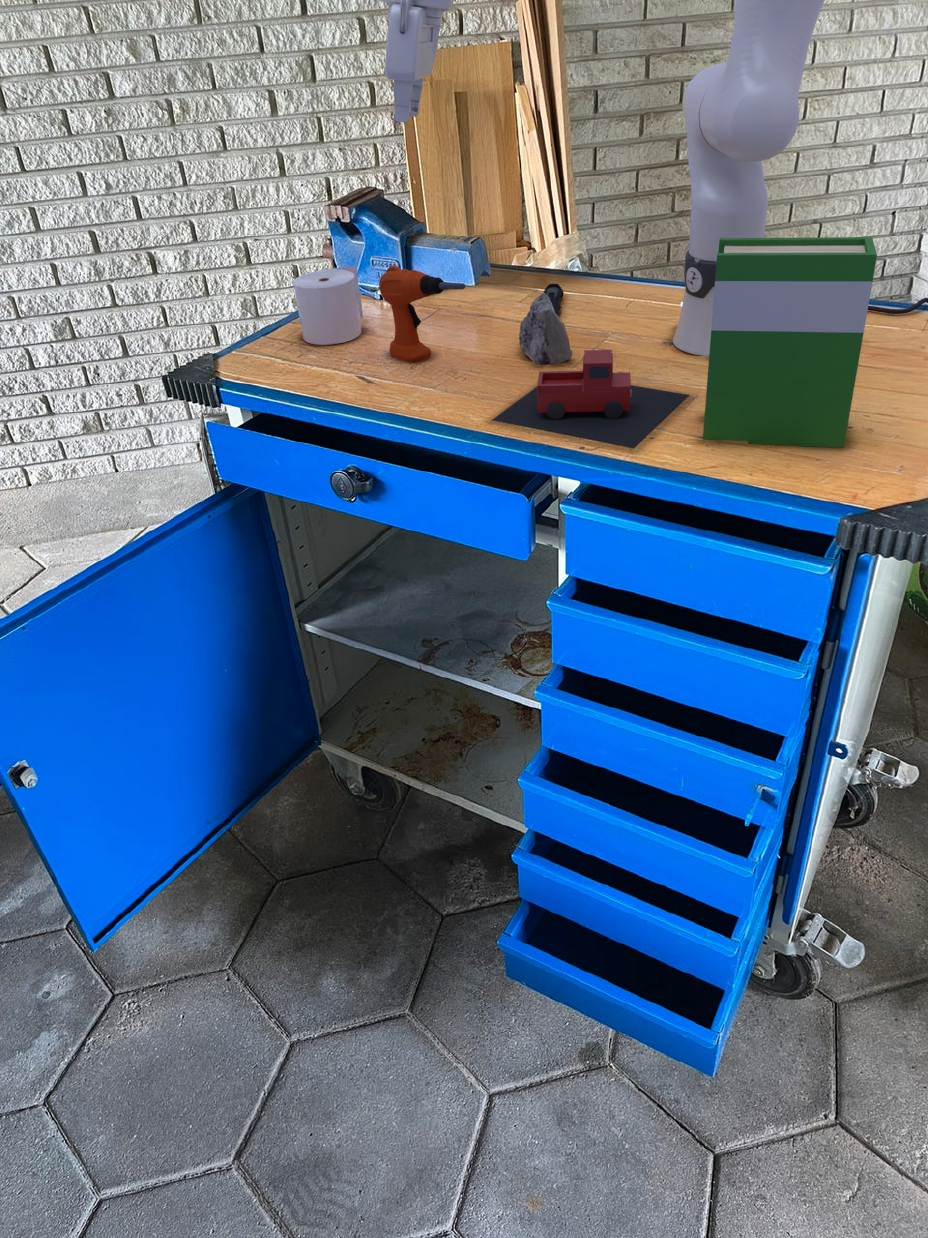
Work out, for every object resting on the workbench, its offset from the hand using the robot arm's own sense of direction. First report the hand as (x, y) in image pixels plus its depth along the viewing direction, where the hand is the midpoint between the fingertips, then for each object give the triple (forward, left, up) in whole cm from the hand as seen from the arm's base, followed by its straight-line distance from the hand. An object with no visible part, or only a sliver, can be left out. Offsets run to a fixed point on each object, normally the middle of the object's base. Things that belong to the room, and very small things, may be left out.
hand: (406, 118), depth 122 cm
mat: (-17, +16, -38) cm, 45 cm away
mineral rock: (-24, -7, -39) cm, 46 cm away
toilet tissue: (+1, -39, -39) cm, 55 cm away
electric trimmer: (-36, -24, -39) cm, 58 cm away
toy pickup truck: (-16, +17, -38) cm, 44 cm away
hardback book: (-32, +37, -39) cm, 62 cm away
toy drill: (-7, -16, -39) cm, 42 cm away
